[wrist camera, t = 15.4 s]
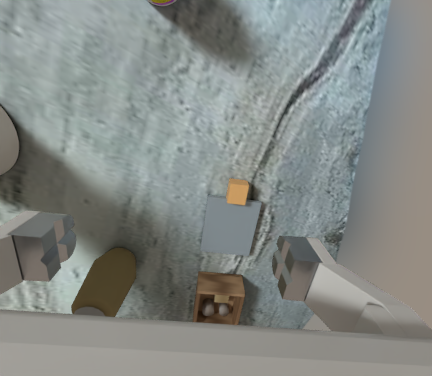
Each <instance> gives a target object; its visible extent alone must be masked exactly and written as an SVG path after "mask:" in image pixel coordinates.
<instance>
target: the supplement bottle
mask: <svg viewBox="0 0 432 376" xmlns="http://www.w3.org/2000/svg"><path fill="white" fill-rule="evenodd" d="M147 1H148V2H150V3H152V4H154V5H157V6H168V5H171V4H173V3H174V2H175V1H177V0H147Z"/></svg>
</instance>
